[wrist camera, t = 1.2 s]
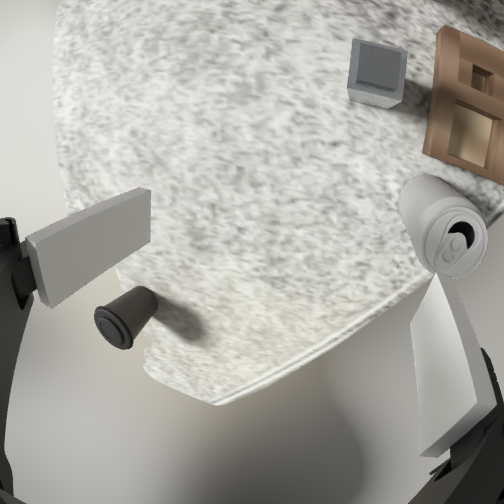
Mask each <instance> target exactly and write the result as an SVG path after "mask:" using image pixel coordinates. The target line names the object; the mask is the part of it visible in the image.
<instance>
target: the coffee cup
mask: <svg viewBox="0 0 504 504" xmlns="http://www.w3.org/2000/svg"><path fill="white" fill-rule="evenodd" d="M157 308H158V303H157V300H156V298H155V296H154V294H153V293H152V292H151V291H150V290H149V289H147V288H145V287H143V286H137V287H135V288H133V289H132V290H130V291H128V292H127V293H125V294H123V295H122V296H120V297H119V298H117V299H115V300H114V301H112V302H110V303H109V304H107V305H105V306H99V307H97V308H96V310H95V313H94V320H95V323H96V326H97V328H98V330H99V331H100V333H101V334H102V336H103V337H104V338H105V339H106V340H107V341H108V342H109V343H111V344H112V345H113V346H115V347H117V348H119V349H122V350H125V349H130V348H131V347H132V346H133V340H134V339H135V338H136V336H137V335H138V334H139V332H140V331H141V330H142V328H143V327H144V326H145V325H146V323H147V322H148V321H149V319H150V318H151V317H152V315H153V314H154V313H155V311H156V310H157Z"/></svg>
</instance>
